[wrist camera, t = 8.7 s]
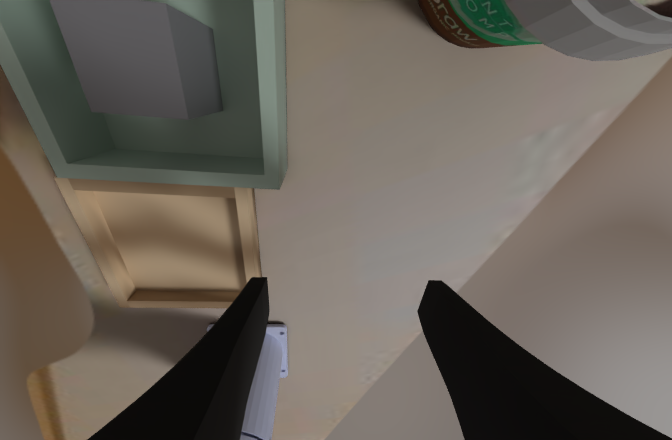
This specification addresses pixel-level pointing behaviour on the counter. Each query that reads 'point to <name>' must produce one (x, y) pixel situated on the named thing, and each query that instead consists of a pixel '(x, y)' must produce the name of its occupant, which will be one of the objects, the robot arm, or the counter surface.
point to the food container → (556, 25)
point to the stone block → (141, 58)
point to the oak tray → (168, 240)
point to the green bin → (153, 132)
